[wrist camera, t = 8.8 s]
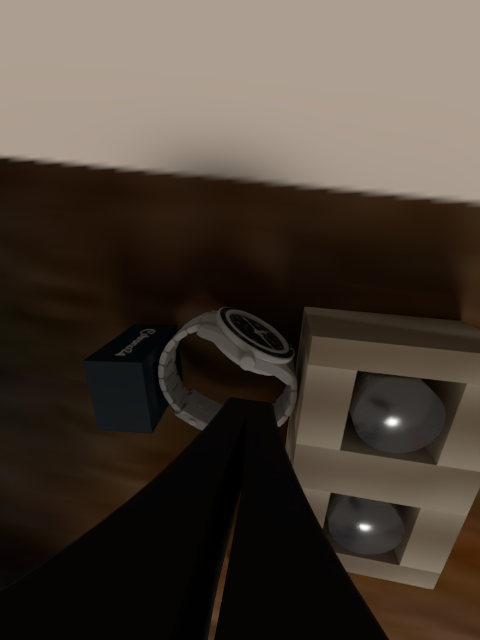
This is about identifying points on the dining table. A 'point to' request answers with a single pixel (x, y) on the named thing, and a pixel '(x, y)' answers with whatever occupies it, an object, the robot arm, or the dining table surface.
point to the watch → (166, 373)
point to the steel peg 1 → (395, 412)
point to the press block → (377, 466)
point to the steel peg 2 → (364, 524)
